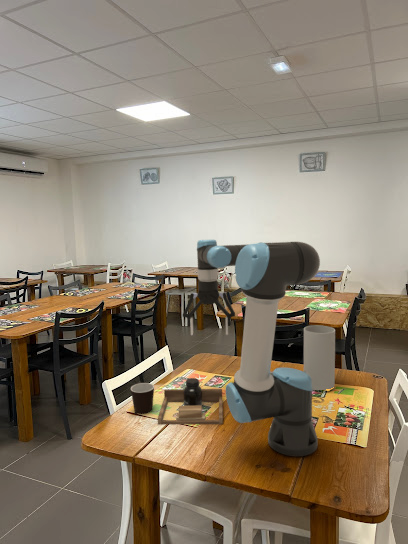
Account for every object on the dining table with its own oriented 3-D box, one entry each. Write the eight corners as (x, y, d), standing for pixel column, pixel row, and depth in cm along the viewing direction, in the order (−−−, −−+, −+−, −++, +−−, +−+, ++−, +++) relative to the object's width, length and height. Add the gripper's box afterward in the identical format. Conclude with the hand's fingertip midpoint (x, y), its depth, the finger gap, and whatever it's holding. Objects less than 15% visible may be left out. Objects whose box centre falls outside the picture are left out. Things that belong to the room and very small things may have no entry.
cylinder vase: (297, 385, 169) (297, 328, 166) (317, 378, 175) (317, 324, 172) (320, 395, 158) (321, 335, 155) (340, 388, 165) (341, 329, 162)
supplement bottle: (181, 414, 146) (180, 383, 145) (187, 406, 152) (186, 376, 151) (199, 416, 144) (198, 384, 143) (204, 408, 150) (203, 377, 149)
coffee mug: (148, 420, 142) (147, 393, 141) (127, 417, 145) (126, 391, 144) (162, 406, 153) (161, 381, 152) (142, 403, 156) (141, 379, 155)
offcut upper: (201, 417, 138) (201, 409, 137) (178, 418, 138) (178, 410, 137) (201, 412, 141) (201, 405, 141) (179, 413, 141) (179, 405, 141)
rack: (222, 427, 136) (222, 410, 135) (158, 427, 137) (157, 411, 136) (222, 403, 154) (222, 388, 153) (165, 404, 155) (164, 389, 154)
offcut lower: (205, 425, 138) (204, 417, 137) (176, 425, 138) (176, 417, 138) (205, 420, 141) (205, 412, 141) (177, 421, 142) (177, 413, 141)
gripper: (240, 278, 154) (241, 331, 156) (177, 279, 156) (179, 331, 158) (240, 280, 146) (241, 336, 149) (174, 282, 148) (176, 337, 151)
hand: (209, 334), depth 153 cm, fingers open, 13 cm apart
